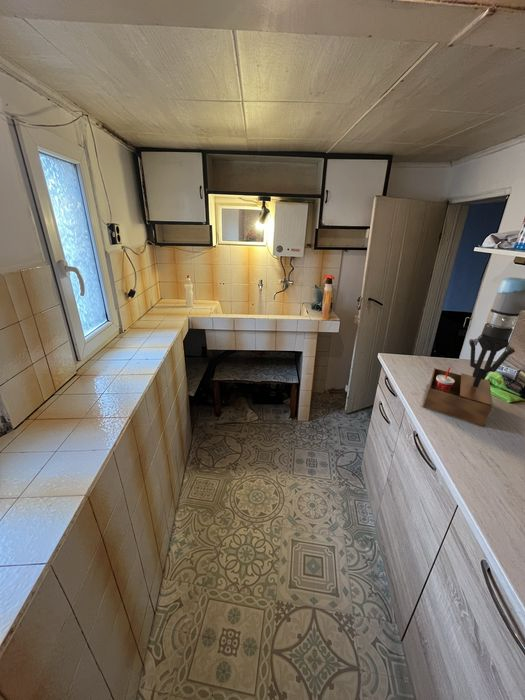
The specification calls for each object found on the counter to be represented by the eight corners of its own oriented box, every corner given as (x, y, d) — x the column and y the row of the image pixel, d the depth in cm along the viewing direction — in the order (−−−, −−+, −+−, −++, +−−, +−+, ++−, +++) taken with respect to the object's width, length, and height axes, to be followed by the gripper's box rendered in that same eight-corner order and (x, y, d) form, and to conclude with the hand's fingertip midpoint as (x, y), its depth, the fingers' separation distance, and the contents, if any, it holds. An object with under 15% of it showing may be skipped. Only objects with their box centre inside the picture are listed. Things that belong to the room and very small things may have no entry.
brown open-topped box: (481, 400, 113) (488, 382, 109) (482, 426, 98) (491, 406, 94) (428, 385, 122) (434, 368, 119) (423, 406, 107) (429, 388, 104)
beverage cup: (451, 401, 110) (463, 370, 104) (437, 403, 109) (449, 371, 103) (439, 393, 116) (450, 363, 110) (426, 394, 115) (436, 364, 109)
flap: (489, 381, 109) (489, 380, 109) (492, 405, 94) (492, 404, 94) (461, 373, 114) (461, 373, 114) (459, 395, 99) (460, 394, 99)
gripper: (476, 324, 95) (454, 384, 104) (526, 332, 88) (497, 395, 98) (475, 318, 100) (454, 376, 110) (522, 326, 94) (496, 386, 104)
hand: (475, 385), depth 104 cm, fingers closed
